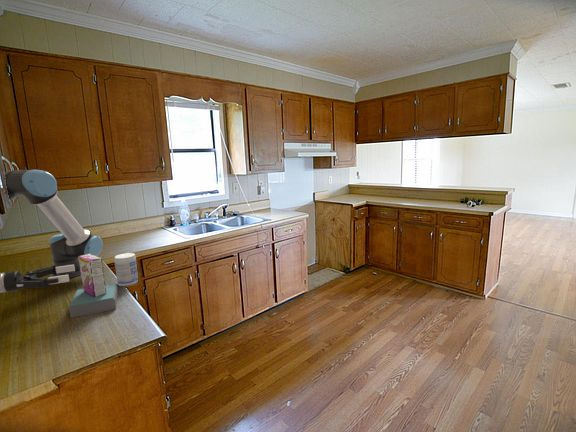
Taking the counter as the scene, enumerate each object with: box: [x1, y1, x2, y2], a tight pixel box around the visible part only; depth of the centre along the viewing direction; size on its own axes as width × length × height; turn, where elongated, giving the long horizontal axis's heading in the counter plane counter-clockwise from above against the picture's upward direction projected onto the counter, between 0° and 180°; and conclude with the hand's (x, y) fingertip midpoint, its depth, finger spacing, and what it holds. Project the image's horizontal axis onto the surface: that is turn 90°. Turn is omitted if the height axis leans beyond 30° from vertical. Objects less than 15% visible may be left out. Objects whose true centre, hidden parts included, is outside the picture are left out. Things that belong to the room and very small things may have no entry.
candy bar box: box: [78, 254, 106, 297], centre depth 133 cm, size 11×5×16 cm, turn 56°
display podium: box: [68, 283, 119, 319], centre depth 134 cm, size 18×16×5 cm
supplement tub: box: [114, 252, 139, 287], centre depth 156 cm, size 10×10×15 cm
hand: (71, 272), depth 129 cm, fingers open, 13 cm apart
